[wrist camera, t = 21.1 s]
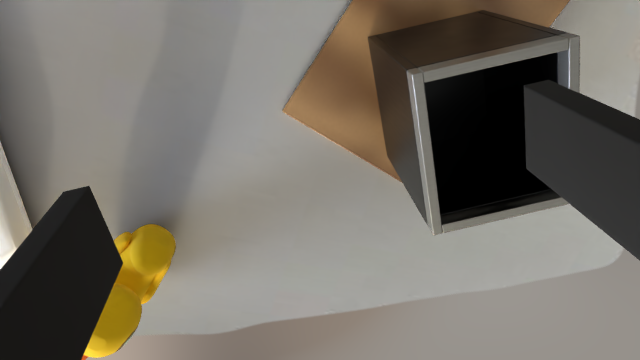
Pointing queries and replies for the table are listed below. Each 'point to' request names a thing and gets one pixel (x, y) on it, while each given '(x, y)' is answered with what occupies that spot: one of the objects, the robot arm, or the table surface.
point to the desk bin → (467, 113)
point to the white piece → (10, 213)
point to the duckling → (132, 286)
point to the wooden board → (357, 72)
